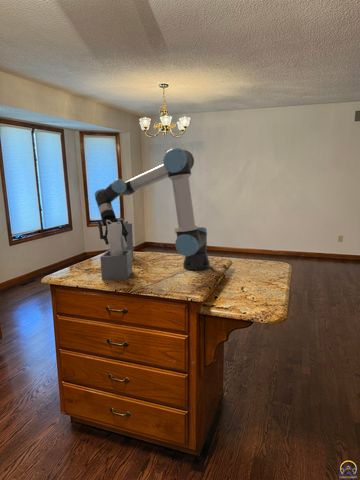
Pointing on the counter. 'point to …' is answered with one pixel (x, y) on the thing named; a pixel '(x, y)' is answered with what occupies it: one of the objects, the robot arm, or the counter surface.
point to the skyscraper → (115, 238)
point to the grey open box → (116, 265)
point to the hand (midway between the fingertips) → (118, 248)
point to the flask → (128, 236)
